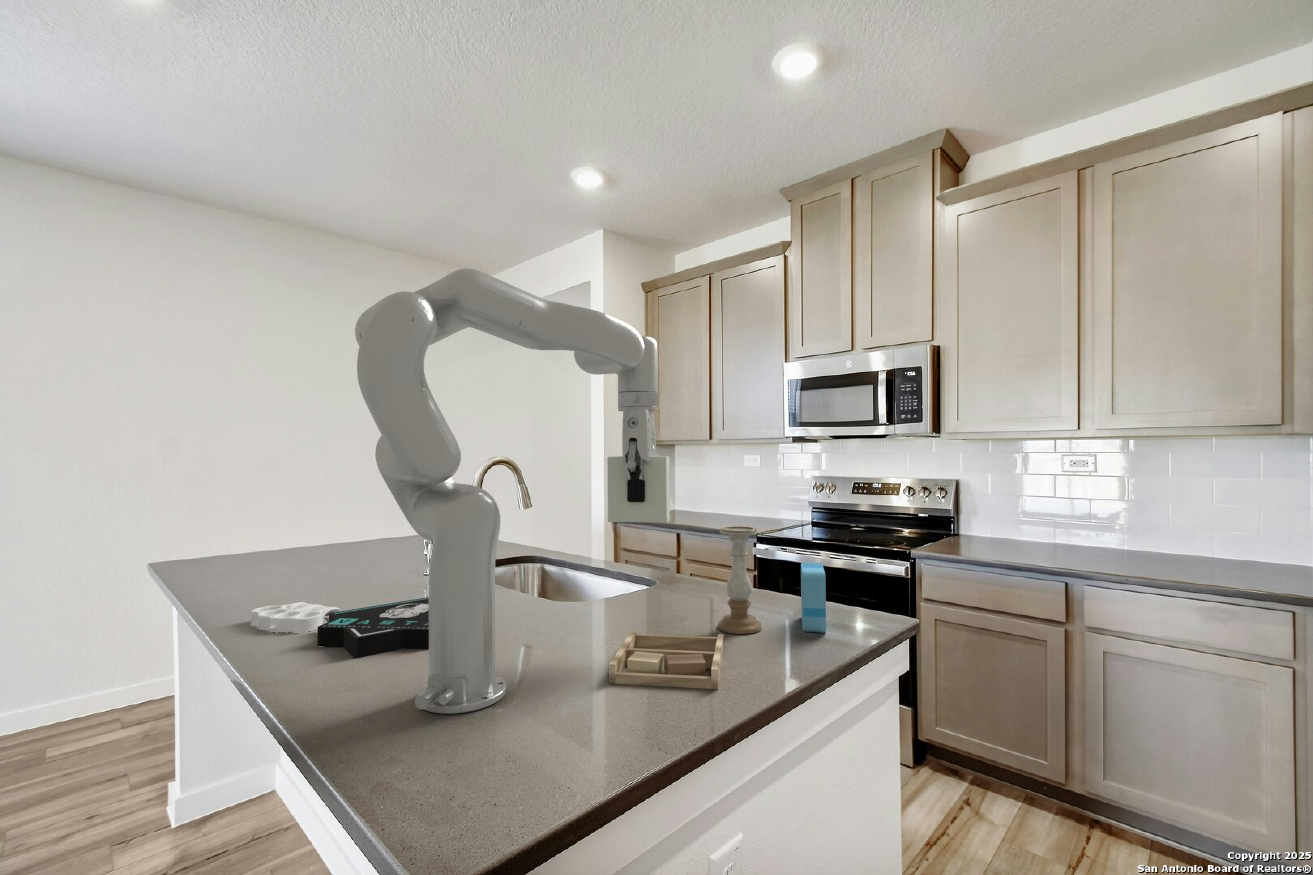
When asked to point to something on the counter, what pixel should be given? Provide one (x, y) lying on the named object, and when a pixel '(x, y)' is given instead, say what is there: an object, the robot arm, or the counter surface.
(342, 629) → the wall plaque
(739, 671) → the counter surface
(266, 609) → the white dimpled disc
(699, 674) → the walnut offcut
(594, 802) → the counter surface
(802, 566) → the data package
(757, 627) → the candle holder
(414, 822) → the counter surface
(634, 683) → the oak rack
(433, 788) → the counter surface
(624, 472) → the sage panel
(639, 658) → the pine offcut
